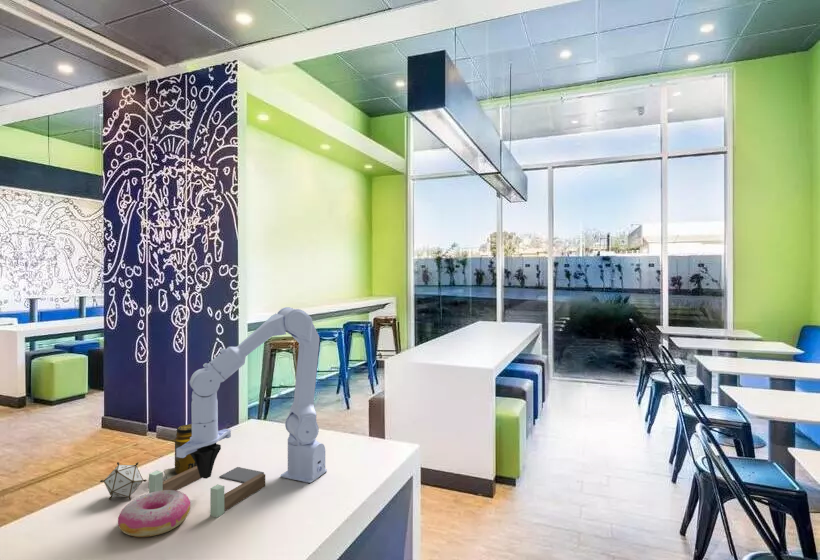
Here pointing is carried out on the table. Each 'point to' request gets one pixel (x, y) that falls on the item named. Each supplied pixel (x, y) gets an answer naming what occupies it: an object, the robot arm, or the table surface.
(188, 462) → the condiment
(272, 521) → the table surface
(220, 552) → the table surface
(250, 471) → the grey flat panel
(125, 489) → the game die
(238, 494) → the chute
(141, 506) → the donut
